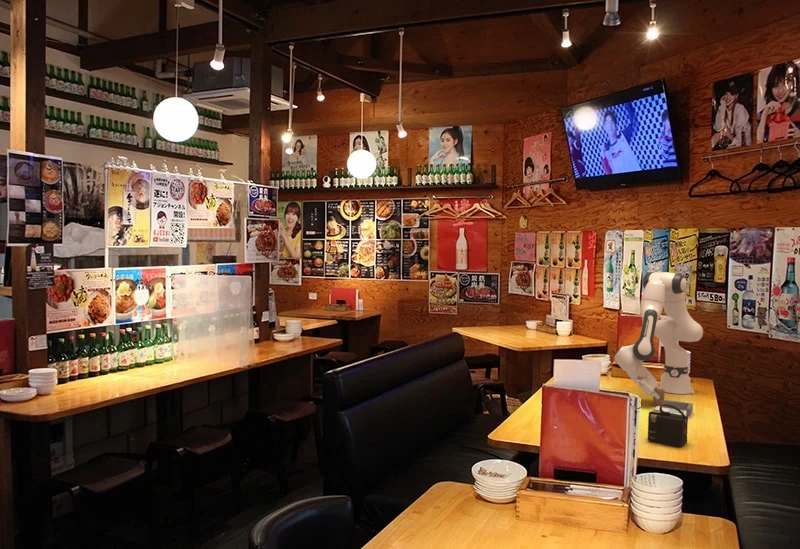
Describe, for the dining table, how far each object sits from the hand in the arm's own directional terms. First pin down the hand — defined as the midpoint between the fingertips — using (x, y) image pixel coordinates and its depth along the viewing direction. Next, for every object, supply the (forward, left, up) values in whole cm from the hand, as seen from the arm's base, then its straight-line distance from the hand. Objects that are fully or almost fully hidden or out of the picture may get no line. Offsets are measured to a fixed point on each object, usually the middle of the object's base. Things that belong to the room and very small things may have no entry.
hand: (660, 397), depth 317 cm
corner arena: (+12, +7, -4) cm, 15 cm away
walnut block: (0, -1, -4) cm, 4 cm away
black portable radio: (+61, +11, -5) cm, 62 cm away
